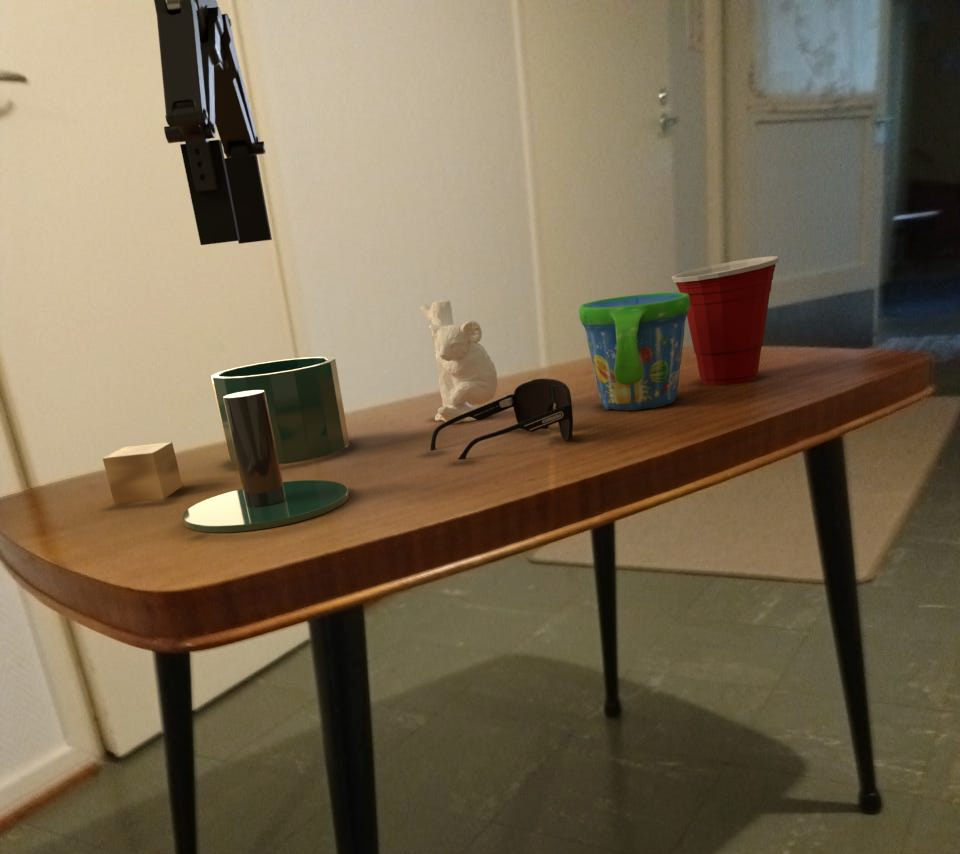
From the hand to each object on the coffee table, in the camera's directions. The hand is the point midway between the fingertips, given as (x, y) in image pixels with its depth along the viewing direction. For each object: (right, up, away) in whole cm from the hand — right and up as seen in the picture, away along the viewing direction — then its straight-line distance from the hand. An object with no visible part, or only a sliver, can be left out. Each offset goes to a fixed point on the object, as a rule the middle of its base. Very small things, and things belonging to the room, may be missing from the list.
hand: (239, 242), depth 77 cm
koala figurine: (+17, -8, +25) cm, 32 cm away
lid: (+3, -21, -3) cm, 22 cm away
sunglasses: (+21, -14, +10) cm, 27 cm away
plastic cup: (+45, -3, +29) cm, 54 cm away
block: (-9, -19, +7) cm, 23 cm away
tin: (+1, -13, +18) cm, 22 cm away
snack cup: (+35, -8, +22) cm, 42 cm away
